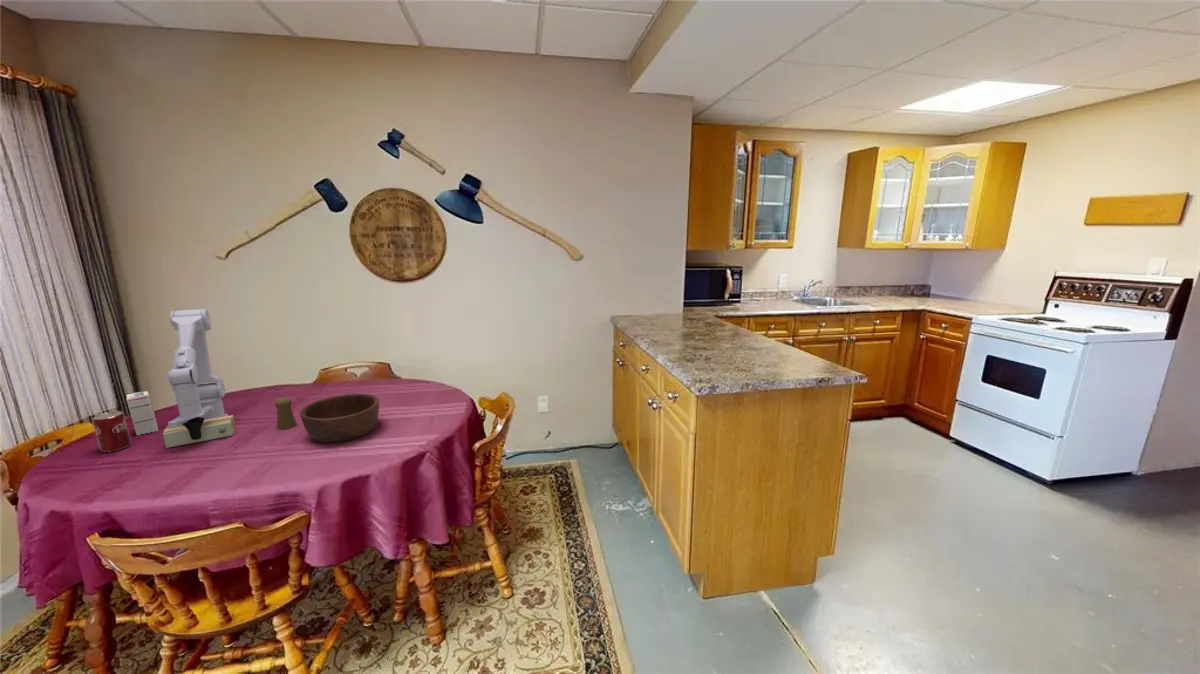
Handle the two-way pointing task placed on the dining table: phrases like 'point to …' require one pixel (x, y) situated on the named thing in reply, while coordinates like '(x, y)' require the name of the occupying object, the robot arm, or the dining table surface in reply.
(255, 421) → the dining table surface
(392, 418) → the dining table surface
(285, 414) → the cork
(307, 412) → the wooden bowl
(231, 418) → the cabinet
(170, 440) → the cabinet door
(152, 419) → the syrup box
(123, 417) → the soda can
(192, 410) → the robot arm
